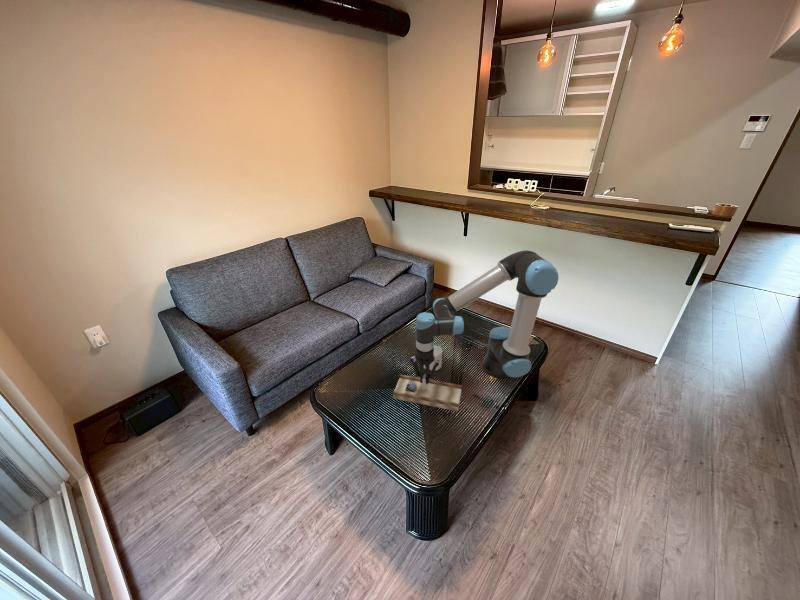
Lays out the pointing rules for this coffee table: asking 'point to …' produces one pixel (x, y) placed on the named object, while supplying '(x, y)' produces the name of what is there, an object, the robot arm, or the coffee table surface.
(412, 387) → the ball
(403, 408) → the coffee table surface
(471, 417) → the coffee table surface
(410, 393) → the tray
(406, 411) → the coffee table surface
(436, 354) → the mug
